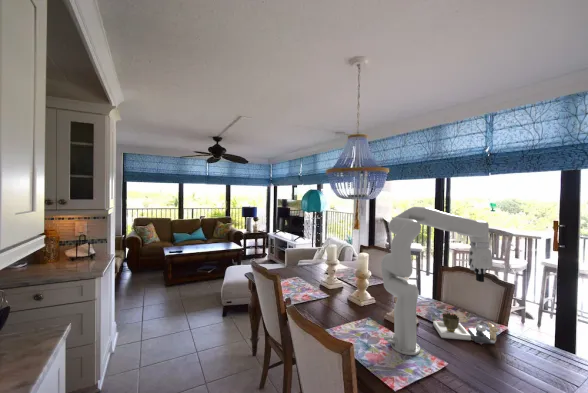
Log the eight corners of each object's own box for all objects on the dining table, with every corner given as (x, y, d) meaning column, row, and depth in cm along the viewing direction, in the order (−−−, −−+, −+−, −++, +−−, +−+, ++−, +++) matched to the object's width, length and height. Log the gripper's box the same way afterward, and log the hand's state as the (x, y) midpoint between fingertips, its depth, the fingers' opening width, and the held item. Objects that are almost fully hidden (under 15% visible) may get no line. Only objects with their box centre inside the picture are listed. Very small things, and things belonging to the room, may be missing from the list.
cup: (461, 335, 132) (461, 319, 132) (445, 334, 134) (445, 318, 134) (455, 328, 140) (455, 313, 140) (440, 327, 141) (440, 312, 141)
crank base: (475, 342, 127) (475, 335, 127) (468, 333, 135) (468, 327, 135) (494, 344, 126) (494, 337, 126) (485, 335, 133) (485, 329, 133)
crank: (474, 329, 133) (474, 313, 133) (482, 329, 132) (482, 314, 132) (492, 346, 117) (492, 328, 117) (502, 347, 117) (502, 329, 117)
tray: (441, 337, 132) (441, 332, 132) (433, 325, 144) (433, 320, 144) (470, 340, 129) (470, 335, 129) (459, 327, 142) (459, 322, 142)
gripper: (472, 247, 130) (473, 284, 130) (499, 246, 132) (499, 282, 132) (460, 244, 138) (461, 279, 137) (486, 243, 140) (486, 278, 140)
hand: (480, 281), depth 135 cm, fingers closed
